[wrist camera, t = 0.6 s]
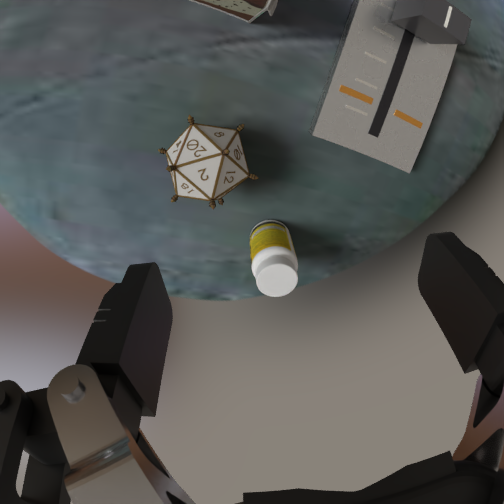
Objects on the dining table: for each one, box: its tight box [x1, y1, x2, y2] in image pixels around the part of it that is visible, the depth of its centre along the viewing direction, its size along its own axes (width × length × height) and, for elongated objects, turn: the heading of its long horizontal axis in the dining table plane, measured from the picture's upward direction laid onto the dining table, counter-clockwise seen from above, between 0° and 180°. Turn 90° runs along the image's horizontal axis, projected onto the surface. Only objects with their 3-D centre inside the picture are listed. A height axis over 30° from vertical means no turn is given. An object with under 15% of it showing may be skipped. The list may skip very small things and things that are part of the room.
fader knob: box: [391, 0, 472, 45], centre depth 19 cm, size 3×5×6 cm, turn 74°
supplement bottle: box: [250, 220, 298, 297], centre depth 34 cm, size 5×5×8 cm
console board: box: [308, 0, 457, 173], centre depth 26 cm, size 20×12×2 cm, turn 164°
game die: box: [158, 115, 259, 209], centre depth 29 cm, size 9×8×10 cm
